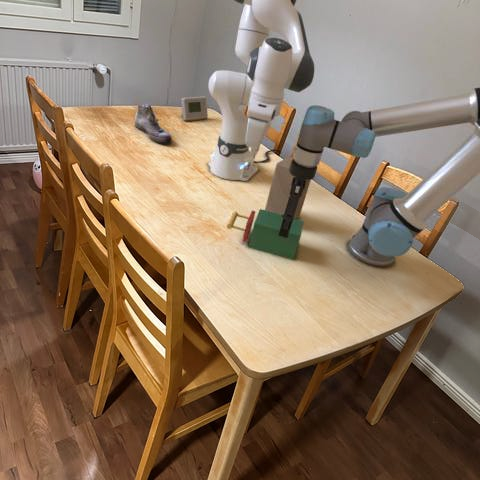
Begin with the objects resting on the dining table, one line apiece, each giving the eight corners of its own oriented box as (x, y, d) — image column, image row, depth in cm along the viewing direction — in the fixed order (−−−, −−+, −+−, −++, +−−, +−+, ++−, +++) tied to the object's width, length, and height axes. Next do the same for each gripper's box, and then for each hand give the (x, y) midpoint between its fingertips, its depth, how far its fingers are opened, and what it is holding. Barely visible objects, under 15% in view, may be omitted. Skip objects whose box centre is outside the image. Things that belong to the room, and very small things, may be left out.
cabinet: (248, 246, 136) (254, 223, 131) (254, 231, 144) (259, 208, 140) (293, 259, 135) (300, 236, 130) (296, 243, 143) (303, 220, 139)
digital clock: (183, 121, 220) (185, 100, 214) (174, 115, 226) (177, 94, 220) (210, 121, 229) (214, 100, 223) (202, 115, 235) (205, 95, 229)
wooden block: (287, 226, 151) (303, 173, 140) (262, 215, 155) (276, 162, 144) (299, 217, 159) (315, 166, 148) (275, 206, 162) (289, 155, 152)
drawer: (224, 236, 137) (228, 217, 133) (230, 223, 144) (234, 205, 140) (283, 253, 135) (289, 234, 132) (286, 238, 143) (292, 221, 139)
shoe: (175, 145, 192) (178, 118, 185) (151, 146, 186) (153, 118, 180) (154, 124, 209) (157, 98, 202) (132, 124, 203) (133, 97, 197)
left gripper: (260, 93, 127) (250, 138, 135) (246, 111, 110) (236, 162, 118) (281, 99, 127) (270, 144, 134) (270, 117, 110) (258, 168, 117)
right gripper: (296, 144, 135) (279, 204, 146) (287, 175, 114) (267, 242, 125) (320, 151, 134) (301, 211, 146) (315, 182, 113) (293, 249, 124)
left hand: (254, 152), depth 126 cm, fingers closed
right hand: (285, 225), depth 135 cm, fingers open, 13 cm apart
